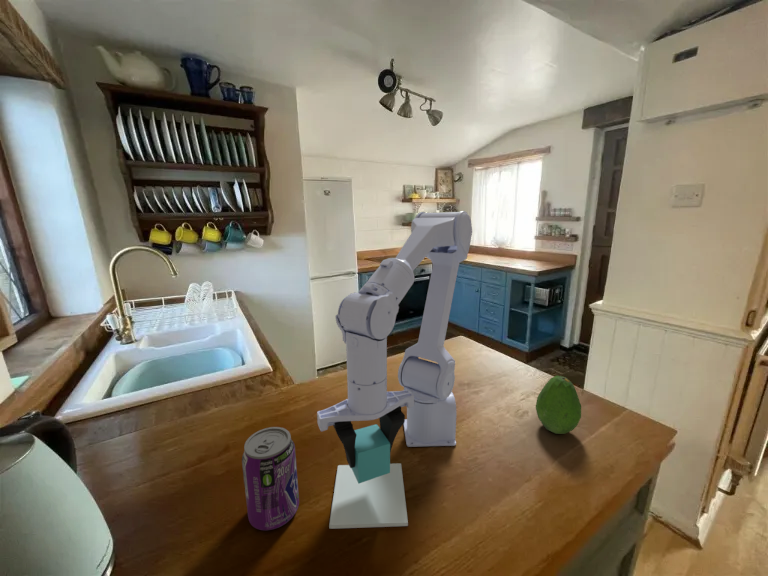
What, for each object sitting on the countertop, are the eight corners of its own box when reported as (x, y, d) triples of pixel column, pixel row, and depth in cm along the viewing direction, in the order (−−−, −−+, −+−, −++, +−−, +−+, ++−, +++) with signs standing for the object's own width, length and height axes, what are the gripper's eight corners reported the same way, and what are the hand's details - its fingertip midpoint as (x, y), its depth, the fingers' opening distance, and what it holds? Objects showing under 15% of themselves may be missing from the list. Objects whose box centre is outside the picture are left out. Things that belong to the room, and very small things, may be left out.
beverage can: (284, 539, 42) (277, 463, 40) (237, 529, 44) (228, 455, 41) (307, 495, 49) (302, 427, 47) (266, 488, 51) (259, 422, 48)
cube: (377, 451, 52) (376, 423, 51) (389, 472, 47) (390, 443, 46) (347, 460, 50) (347, 432, 49) (358, 483, 45) (357, 453, 44)
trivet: (401, 466, 55) (401, 463, 55) (407, 525, 44) (407, 522, 44) (338, 468, 55) (337, 465, 55) (329, 528, 44) (329, 525, 44)
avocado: (552, 446, 60) (559, 388, 57) (526, 420, 67) (531, 369, 65) (588, 440, 61) (596, 383, 59) (558, 416, 69) (564, 365, 66)
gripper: (399, 356, 52) (399, 429, 54) (311, 373, 46) (315, 453, 49) (421, 374, 45) (419, 456, 48) (321, 397, 40) (326, 488, 42)
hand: (368, 457), depth 48 cm, fingers closed on cube, 5 cm apart
